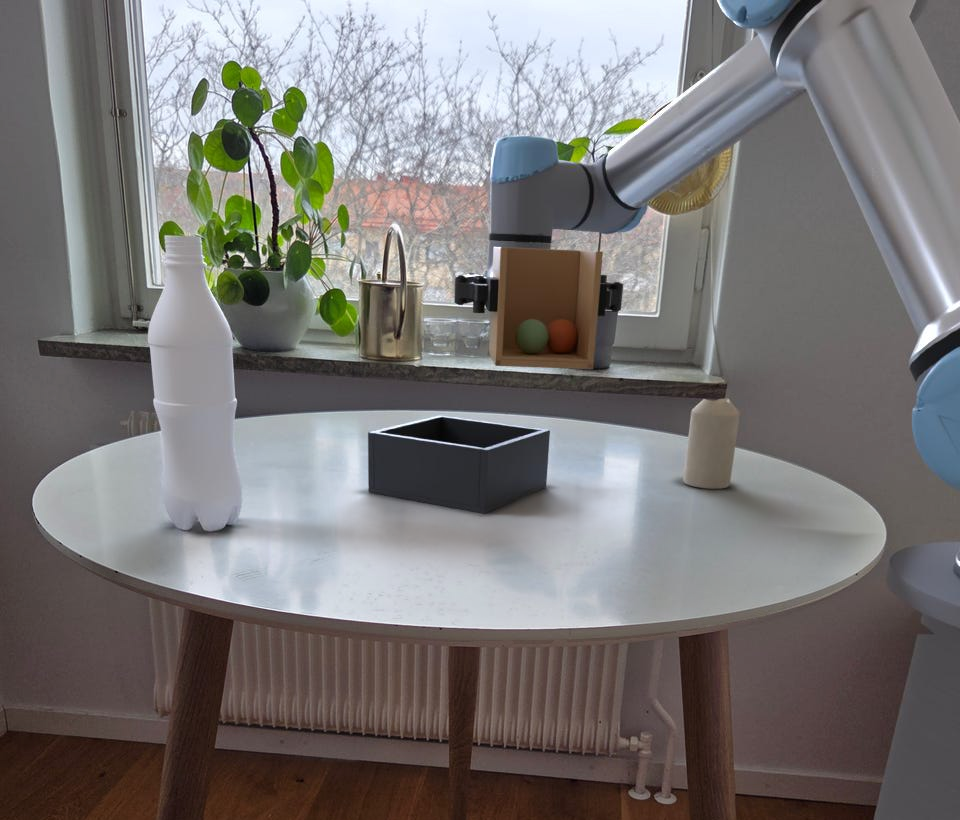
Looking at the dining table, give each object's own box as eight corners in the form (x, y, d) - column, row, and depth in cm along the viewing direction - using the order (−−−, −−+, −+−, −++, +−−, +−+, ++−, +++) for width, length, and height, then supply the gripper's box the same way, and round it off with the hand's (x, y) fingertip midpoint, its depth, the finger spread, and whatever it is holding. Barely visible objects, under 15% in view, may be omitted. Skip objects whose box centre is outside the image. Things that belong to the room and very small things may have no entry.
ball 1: (533, 347, 92) (559, 335, 90) (521, 365, 91) (547, 353, 88) (516, 320, 91) (541, 307, 89) (503, 337, 89) (529, 324, 87)
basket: (546, 487, 107) (550, 430, 105) (485, 513, 96) (487, 450, 93) (438, 469, 114) (439, 415, 111) (368, 492, 102) (367, 432, 99)
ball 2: (577, 358, 93) (585, 324, 92) (566, 353, 90) (574, 319, 89) (548, 352, 94) (555, 319, 93) (536, 347, 91) (543, 314, 90)
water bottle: (166, 515, 90) (140, 234, 81) (242, 513, 92) (226, 237, 82) (163, 536, 84) (134, 234, 74) (245, 533, 86) (228, 237, 76)
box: (488, 354, 94) (493, 246, 90) (577, 357, 95) (585, 250, 91) (495, 365, 85) (500, 247, 81) (593, 369, 86) (603, 251, 82)
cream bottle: (712, 477, 115) (723, 394, 112) (738, 487, 111) (751, 401, 107) (673, 479, 114) (684, 395, 110) (699, 490, 109) (711, 402, 105)
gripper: (617, 326, 106) (663, 346, 86) (426, 318, 105) (425, 337, 84) (624, 254, 103) (673, 257, 83) (427, 246, 102) (427, 246, 81)
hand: (548, 297), depth 83 cm, fingers closed on box, 9 cm apart
